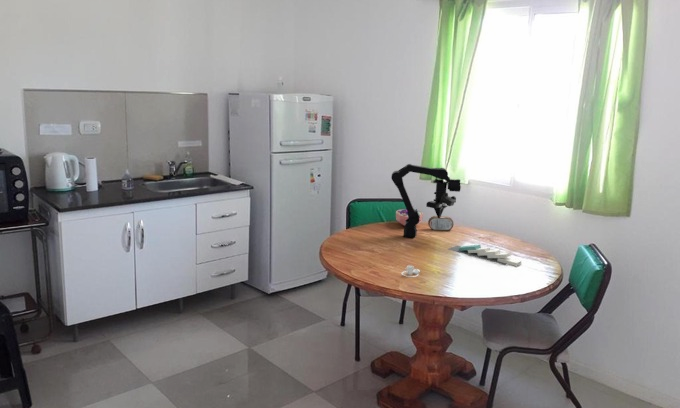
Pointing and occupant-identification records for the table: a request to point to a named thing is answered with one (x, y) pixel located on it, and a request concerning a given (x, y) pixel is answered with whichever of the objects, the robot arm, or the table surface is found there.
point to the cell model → (405, 216)
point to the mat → (475, 255)
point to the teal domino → (469, 247)
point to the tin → (440, 223)
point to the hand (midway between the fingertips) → (439, 217)
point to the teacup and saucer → (411, 271)
